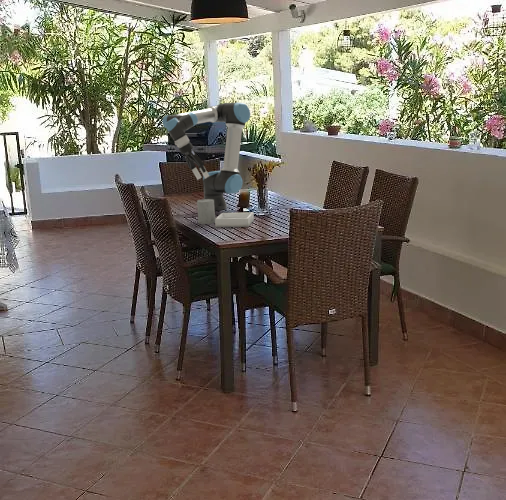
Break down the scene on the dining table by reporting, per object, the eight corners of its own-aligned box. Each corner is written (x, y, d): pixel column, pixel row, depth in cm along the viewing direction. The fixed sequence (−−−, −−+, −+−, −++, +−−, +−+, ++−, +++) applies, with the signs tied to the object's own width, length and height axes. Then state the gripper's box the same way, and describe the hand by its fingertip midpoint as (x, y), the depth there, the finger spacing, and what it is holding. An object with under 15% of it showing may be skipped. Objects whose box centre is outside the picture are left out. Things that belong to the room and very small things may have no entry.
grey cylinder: (200, 224, 388) (198, 202, 385) (196, 221, 397) (195, 200, 394) (217, 223, 390) (215, 201, 388) (213, 220, 399) (212, 198, 397)
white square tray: (222, 220, 396) (221, 212, 395) (253, 220, 393) (253, 212, 392) (215, 227, 378) (215, 218, 377) (248, 226, 375) (248, 218, 374)
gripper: (172, 150, 402) (191, 182, 407) (185, 146, 379) (205, 180, 384) (183, 143, 404) (201, 175, 409) (196, 139, 381) (216, 173, 386)
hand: (203, 178), depth 396 cm, fingers open, 13 cm apart
